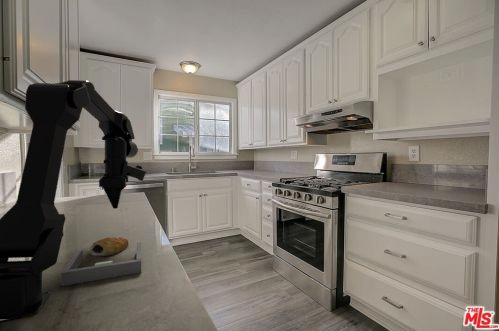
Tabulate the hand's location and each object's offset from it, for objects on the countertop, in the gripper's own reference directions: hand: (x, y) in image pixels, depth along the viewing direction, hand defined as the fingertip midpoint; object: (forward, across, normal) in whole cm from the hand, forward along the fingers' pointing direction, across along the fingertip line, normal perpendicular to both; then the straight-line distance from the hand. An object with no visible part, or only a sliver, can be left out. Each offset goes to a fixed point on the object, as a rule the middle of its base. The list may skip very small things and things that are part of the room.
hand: (115, 208), depth 71 cm
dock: (+10, -19, 0) cm, 21 cm away
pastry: (+10, -8, +1) cm, 13 cm away
